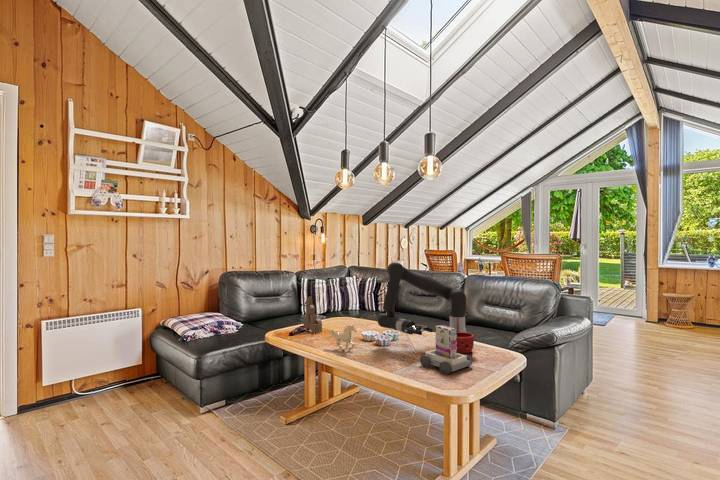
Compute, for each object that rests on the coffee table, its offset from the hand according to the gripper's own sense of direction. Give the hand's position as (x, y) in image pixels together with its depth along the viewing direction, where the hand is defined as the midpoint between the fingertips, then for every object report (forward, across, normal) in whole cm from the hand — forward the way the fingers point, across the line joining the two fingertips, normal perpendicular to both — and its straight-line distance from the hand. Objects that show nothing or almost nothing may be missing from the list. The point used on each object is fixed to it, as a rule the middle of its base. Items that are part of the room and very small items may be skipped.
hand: (427, 331), depth 205 cm
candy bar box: (+13, 0, +12) cm, 17 cm away
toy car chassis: (+13, 0, +16) cm, 20 cm away
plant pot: (+7, +21, +16) cm, 27 cm away
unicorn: (-44, -24, +16) cm, 53 cm away
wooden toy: (-94, -15, +16) cm, 97 cm away
